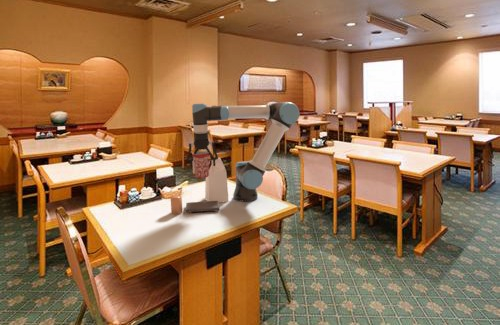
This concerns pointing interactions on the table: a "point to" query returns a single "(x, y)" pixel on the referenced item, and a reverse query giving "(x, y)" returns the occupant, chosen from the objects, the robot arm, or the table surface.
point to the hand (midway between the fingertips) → (203, 172)
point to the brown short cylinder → (176, 204)
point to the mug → (202, 164)
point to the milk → (217, 183)
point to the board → (202, 206)
